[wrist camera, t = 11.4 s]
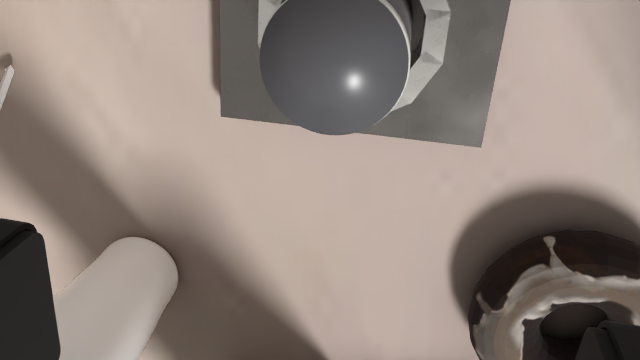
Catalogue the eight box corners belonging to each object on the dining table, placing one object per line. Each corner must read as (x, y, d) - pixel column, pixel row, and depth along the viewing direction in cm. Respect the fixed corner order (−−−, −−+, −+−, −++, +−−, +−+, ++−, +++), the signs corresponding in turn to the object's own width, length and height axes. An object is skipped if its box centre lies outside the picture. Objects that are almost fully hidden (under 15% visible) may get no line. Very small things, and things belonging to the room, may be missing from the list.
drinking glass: (89, 218, 38) (-91, 388, 25) (187, 228, 37) (55, 410, 24) (103, 301, 41) (-51, 494, 28) (195, 313, 40) (81, 517, 27)
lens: (419, -36, 27) (417, -12, 18) (408, 73, 29) (402, 142, 20) (310, -41, 28) (257, -21, 19) (308, 66, 30) (258, 130, 21)
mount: (527, -110, 26) (545, -112, 22) (478, 137, 32) (486, 171, 28) (227, -130, 28) (194, -135, 24) (228, 107, 33) (202, 136, 29)
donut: (703, 235, 32) (737, 277, 29) (633, 391, 37) (654, 443, 34) (489, 202, 33) (497, 238, 30) (450, 357, 39) (452, 404, 35)
